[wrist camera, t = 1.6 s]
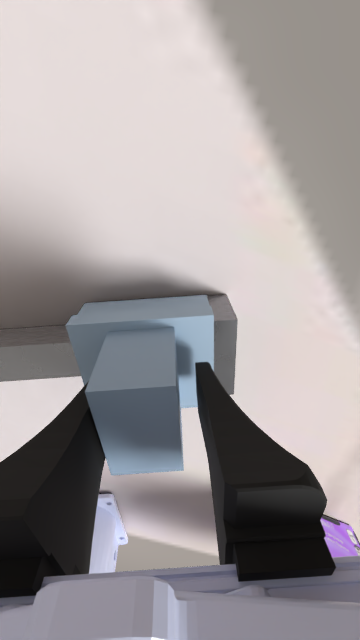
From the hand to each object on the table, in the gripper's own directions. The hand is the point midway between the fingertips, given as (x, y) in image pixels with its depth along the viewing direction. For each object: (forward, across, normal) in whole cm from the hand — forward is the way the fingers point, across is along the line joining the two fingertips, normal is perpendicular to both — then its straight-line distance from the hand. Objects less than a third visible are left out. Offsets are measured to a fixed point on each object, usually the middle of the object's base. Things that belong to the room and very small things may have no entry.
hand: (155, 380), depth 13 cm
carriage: (+4, 0, 0) cm, 4 cm away
